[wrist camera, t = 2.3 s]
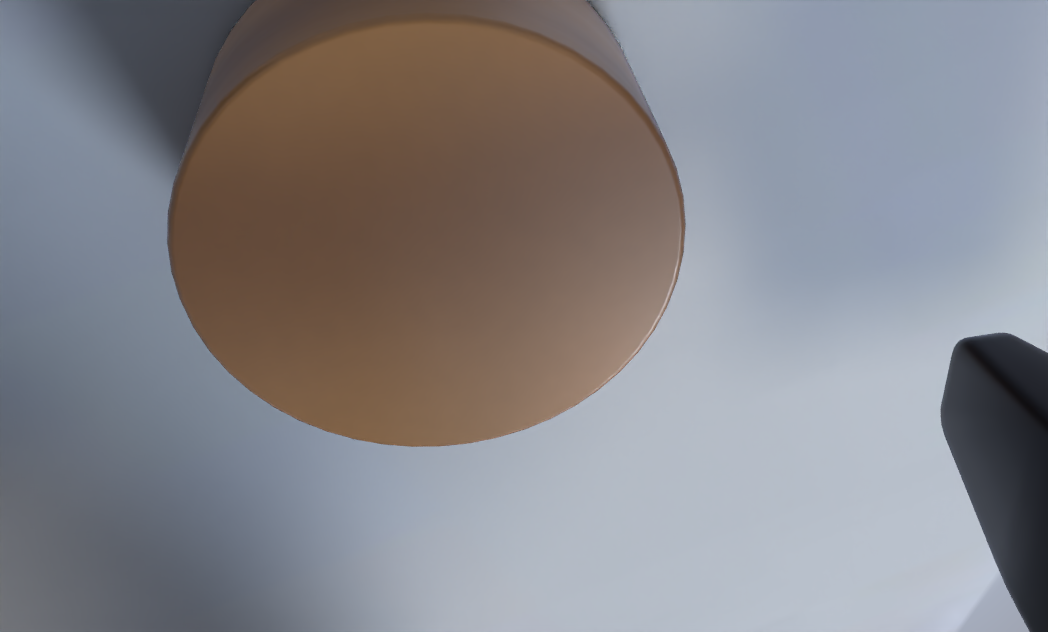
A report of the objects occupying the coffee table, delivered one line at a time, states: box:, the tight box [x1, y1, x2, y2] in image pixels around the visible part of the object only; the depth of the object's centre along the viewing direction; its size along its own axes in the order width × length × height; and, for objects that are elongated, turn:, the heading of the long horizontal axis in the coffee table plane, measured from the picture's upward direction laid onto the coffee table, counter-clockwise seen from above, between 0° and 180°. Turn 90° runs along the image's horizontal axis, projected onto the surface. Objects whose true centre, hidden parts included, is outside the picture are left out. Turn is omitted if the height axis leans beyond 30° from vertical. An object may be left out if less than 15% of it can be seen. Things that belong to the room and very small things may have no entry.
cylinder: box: [167, 0, 686, 447], centre depth 12 cm, size 6×6×2 cm
